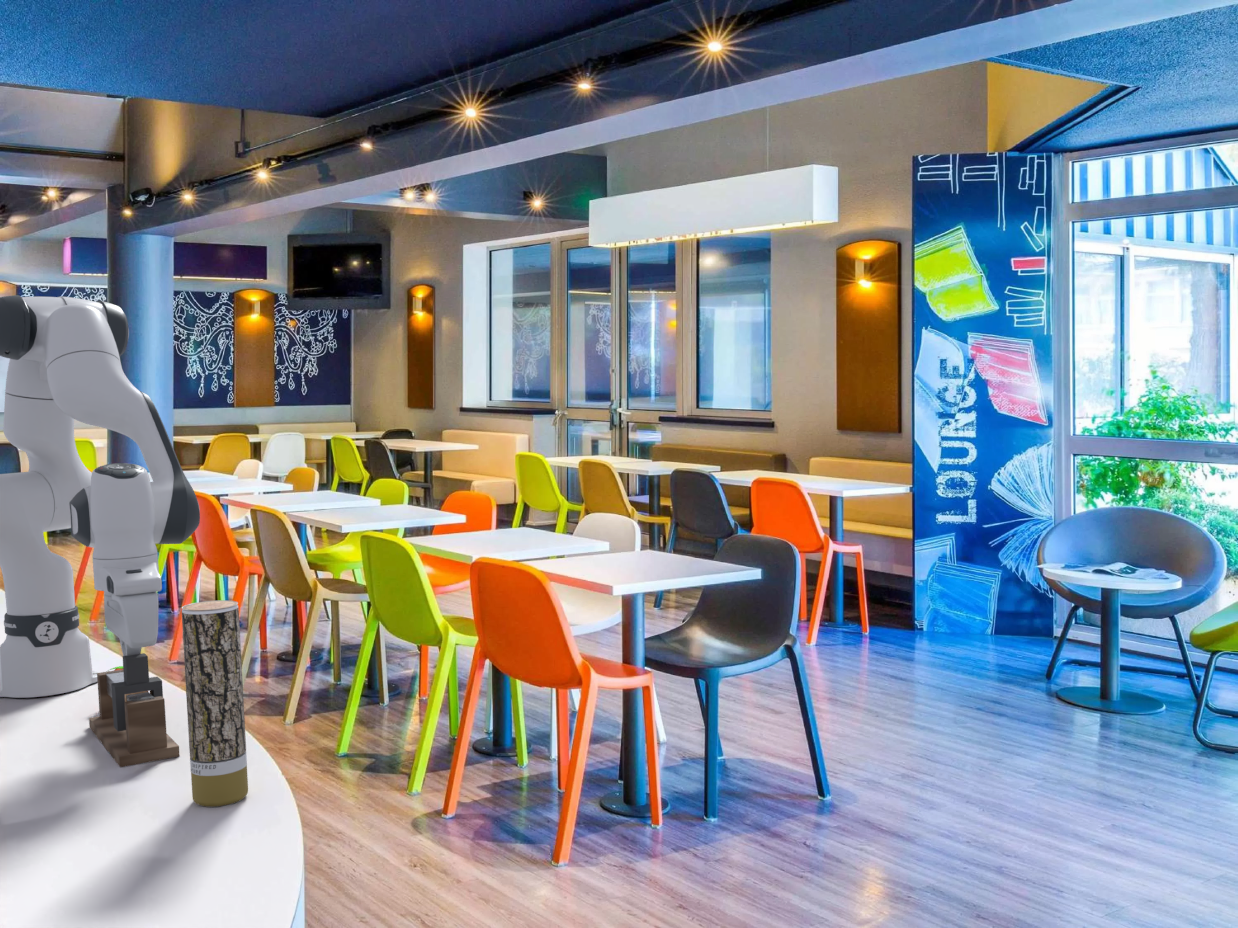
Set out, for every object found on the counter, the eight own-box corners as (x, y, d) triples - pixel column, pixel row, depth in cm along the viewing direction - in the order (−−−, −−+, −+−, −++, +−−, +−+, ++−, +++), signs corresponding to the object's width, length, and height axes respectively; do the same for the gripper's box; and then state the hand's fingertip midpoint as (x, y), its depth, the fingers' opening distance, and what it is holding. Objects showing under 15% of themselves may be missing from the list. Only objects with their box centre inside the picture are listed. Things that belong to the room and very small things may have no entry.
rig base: (89, 727, 189) (86, 673, 188) (143, 718, 193) (140, 665, 192) (120, 767, 168) (116, 707, 167) (179, 756, 172) (176, 697, 171)
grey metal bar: (105, 692, 188) (104, 672, 188) (126, 689, 190) (125, 669, 190) (134, 723, 170) (132, 701, 170) (157, 719, 171) (155, 698, 171)
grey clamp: (113, 726, 174) (109, 657, 174) (160, 718, 178) (155, 651, 177) (117, 731, 172) (113, 661, 171) (164, 723, 175) (160, 654, 175)
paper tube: (231, 809, 149) (220, 610, 147) (181, 807, 150) (170, 610, 149) (258, 791, 156) (248, 600, 154) (210, 789, 157) (200, 600, 155)
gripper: (91, 569, 183) (96, 658, 184) (116, 585, 166) (122, 684, 167) (134, 564, 186) (140, 652, 187) (164, 580, 169) (170, 676, 170)
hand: (132, 667), depth 177 cm, fingers closed
